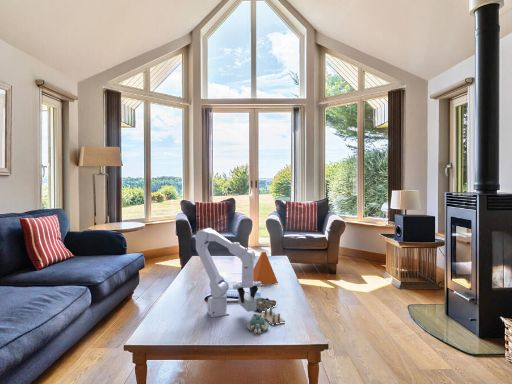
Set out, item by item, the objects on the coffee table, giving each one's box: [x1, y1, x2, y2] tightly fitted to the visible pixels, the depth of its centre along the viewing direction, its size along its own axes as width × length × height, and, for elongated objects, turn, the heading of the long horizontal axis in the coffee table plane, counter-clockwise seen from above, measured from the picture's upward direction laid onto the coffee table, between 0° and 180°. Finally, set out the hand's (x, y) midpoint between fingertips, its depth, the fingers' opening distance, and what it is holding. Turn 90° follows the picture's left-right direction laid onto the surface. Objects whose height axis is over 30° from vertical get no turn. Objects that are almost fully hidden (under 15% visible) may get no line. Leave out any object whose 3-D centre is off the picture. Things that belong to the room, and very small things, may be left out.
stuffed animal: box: [245, 313, 270, 334], centre depth 151 cm, size 11×7×12 cm
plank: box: [237, 291, 257, 313], centre depth 164 cm, size 4×12×5 cm, turn 25°
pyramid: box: [253, 251, 279, 285], centre depth 224 cm, size 16×16×20 cm
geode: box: [254, 297, 277, 313], centre depth 179 cm, size 19×4×15 cm
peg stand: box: [259, 307, 286, 325], centre depth 162 cm, size 7×13×4 cm, turn 25°
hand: (247, 301), depth 164 cm, fingers closed on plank, 4 cm apart
